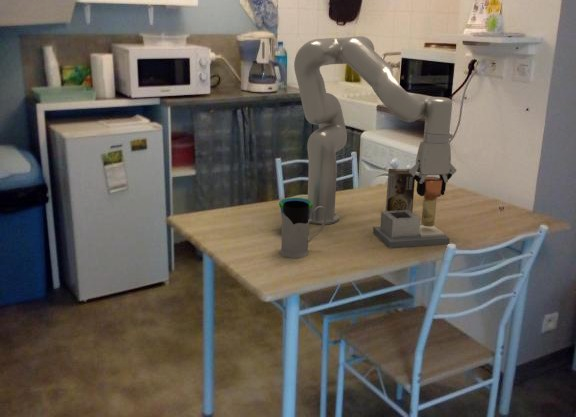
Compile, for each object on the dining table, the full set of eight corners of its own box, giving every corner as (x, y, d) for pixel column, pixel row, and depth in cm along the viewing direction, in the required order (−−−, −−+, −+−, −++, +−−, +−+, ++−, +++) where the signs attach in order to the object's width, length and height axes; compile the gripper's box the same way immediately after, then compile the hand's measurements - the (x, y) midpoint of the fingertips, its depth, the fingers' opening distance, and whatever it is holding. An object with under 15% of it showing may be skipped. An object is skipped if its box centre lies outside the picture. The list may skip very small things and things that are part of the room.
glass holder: (275, 248, 187) (276, 201, 182) (319, 244, 192) (321, 197, 187) (285, 259, 179) (287, 210, 174) (330, 254, 184) (333, 206, 179)
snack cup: (273, 224, 207) (274, 195, 204) (304, 223, 210) (305, 194, 207) (285, 241, 193) (285, 210, 190) (317, 239, 196) (318, 208, 192)
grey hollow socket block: (391, 238, 192) (392, 220, 190) (380, 228, 200) (381, 211, 198) (418, 237, 194) (420, 219, 192) (406, 227, 203) (408, 209, 201)
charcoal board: (389, 248, 190) (390, 241, 189) (372, 232, 203) (373, 226, 202) (449, 244, 195) (449, 238, 194) (428, 229, 208) (429, 223, 207)
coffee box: (410, 212, 224) (414, 169, 219) (412, 218, 218) (416, 173, 213) (384, 211, 225) (388, 167, 220) (385, 216, 219) (389, 172, 214)
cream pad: (421, 236, 194) (421, 235, 194) (409, 227, 203) (409, 225, 202) (444, 235, 196) (444, 233, 196) (431, 225, 205) (431, 224, 204)
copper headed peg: (432, 220, 202) (436, 176, 198) (441, 227, 196) (446, 181, 192) (414, 221, 201) (418, 176, 196) (422, 228, 195) (427, 182, 190)
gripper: (455, 135, 196) (449, 190, 201) (404, 136, 192) (400, 192, 197) (467, 140, 189) (461, 196, 194) (415, 141, 185) (410, 199, 190)
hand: (430, 193), depth 196 cm, fingers closed on copper headed peg, 6 cm apart
